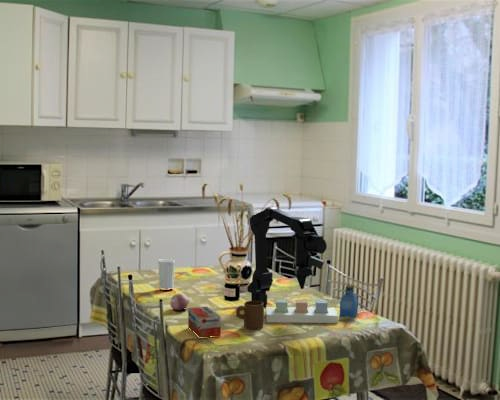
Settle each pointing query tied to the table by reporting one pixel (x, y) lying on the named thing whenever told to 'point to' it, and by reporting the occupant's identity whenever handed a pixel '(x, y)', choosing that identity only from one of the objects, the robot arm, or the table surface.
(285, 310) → the button sage
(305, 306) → the button terracotta
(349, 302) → the perfume bottle
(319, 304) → the button slate
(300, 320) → the panel
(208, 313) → the medicine box
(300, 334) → the table surface
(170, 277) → the cup
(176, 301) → the onion
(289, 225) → the robot arm
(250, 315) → the mug
